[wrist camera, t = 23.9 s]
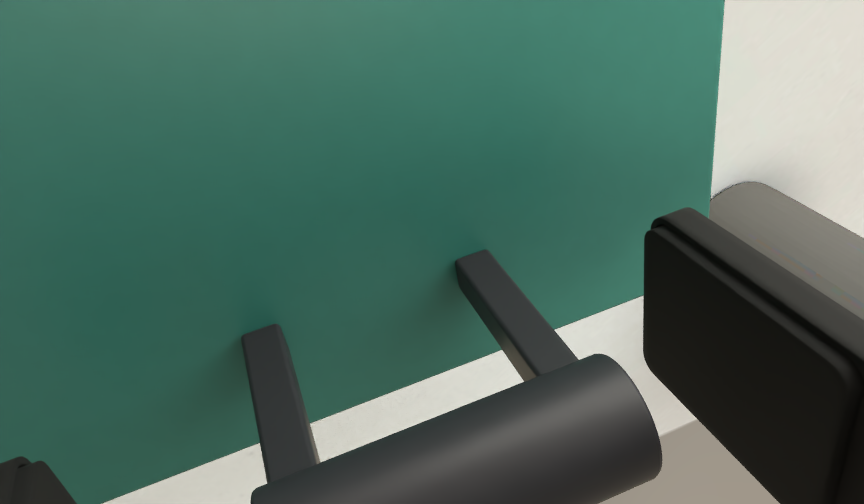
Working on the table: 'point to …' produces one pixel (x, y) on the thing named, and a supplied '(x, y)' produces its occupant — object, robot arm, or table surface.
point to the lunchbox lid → (337, 234)
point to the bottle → (796, 240)
